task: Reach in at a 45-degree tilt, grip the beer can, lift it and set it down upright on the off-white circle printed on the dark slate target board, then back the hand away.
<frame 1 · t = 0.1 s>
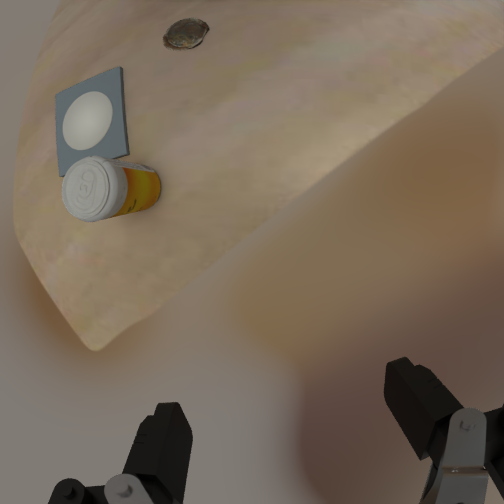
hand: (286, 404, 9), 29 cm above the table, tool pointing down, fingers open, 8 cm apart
target board: (89, 121, 33), on the table
decorative disc: (186, 35, 31), on the table
beer can: (141, 187, 36), on the table
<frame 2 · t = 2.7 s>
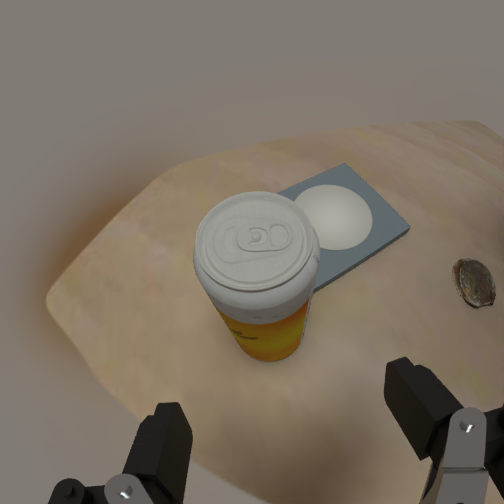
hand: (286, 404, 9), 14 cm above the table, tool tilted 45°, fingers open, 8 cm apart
target board: (331, 220, 31), on the table
decorative disc: (473, 285, 25), on the table
beer can: (270, 330, 25), on the table
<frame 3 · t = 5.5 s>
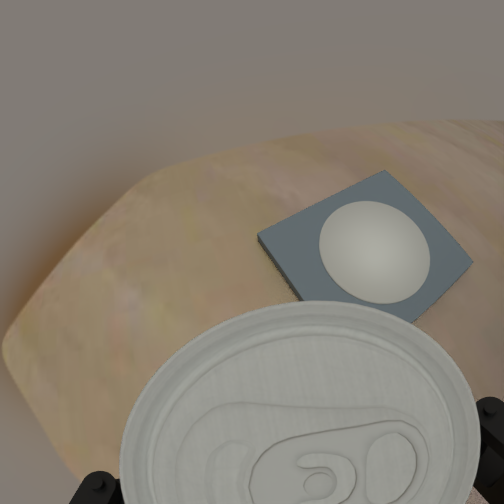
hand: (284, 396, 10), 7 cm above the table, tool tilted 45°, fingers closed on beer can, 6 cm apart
target board: (373, 255, 21), on the table
beer can: (289, 425, 15), on the table, touching gripper
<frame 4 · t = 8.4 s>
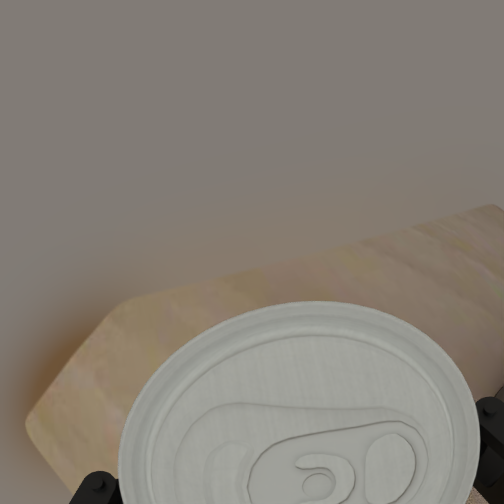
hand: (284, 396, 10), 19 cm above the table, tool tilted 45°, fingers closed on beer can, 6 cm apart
beer can: (288, 425, 15), point 11 cm above the table, touching gripper
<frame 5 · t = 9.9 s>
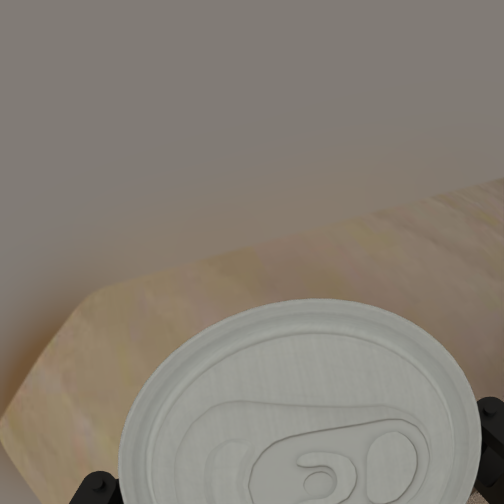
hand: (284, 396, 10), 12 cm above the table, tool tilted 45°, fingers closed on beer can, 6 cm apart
beer can: (289, 425, 15), point 5 cm above the table, touching gripper
when the fingers open (10 cm above the table, at t = 11.3 s): beer can drops 1 cm, resting on target board.
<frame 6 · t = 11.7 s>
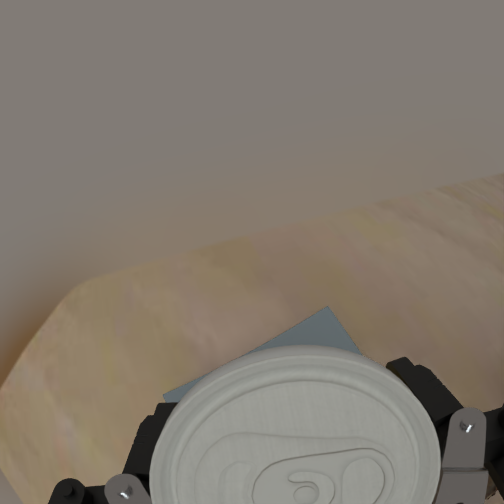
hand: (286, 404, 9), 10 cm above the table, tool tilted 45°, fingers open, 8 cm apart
target board: (288, 423, 17), on the table
beer can: (289, 426, 16), point 1 cm above the table, touching target board
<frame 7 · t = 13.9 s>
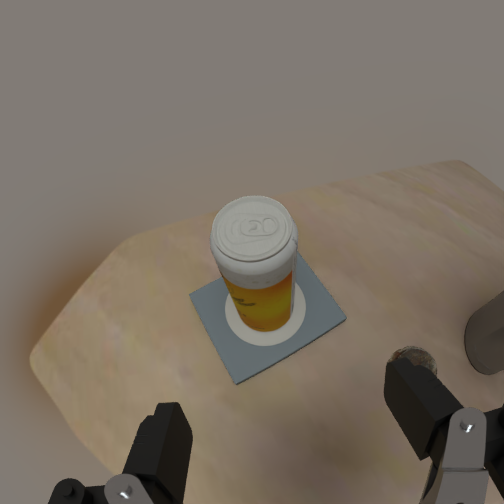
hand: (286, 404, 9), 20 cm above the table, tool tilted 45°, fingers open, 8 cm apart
target board: (265, 310, 32), on the table
decorative disc: (411, 373, 26), on the table
beer can: (265, 308, 31), point 1 cm above the table, touching target board
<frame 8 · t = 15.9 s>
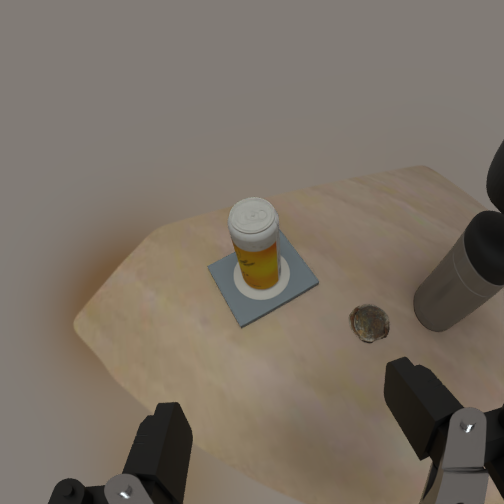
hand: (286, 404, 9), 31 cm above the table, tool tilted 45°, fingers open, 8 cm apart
target board: (262, 276, 47), on the table
decorative disc: (368, 324, 41), on the table
beer can: (262, 274, 46), point 1 cm above the table, touching target board
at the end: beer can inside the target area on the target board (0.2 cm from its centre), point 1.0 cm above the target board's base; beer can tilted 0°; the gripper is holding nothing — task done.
